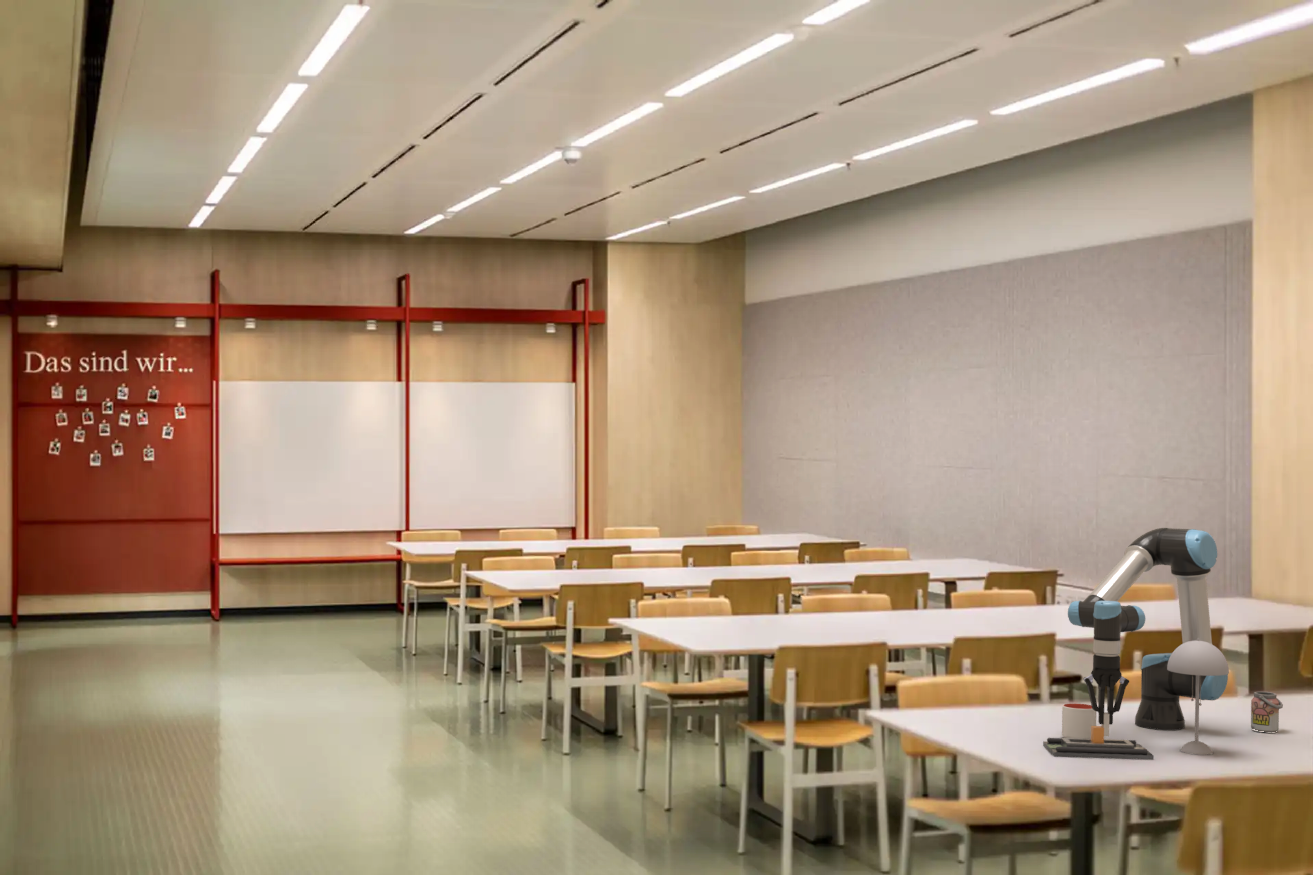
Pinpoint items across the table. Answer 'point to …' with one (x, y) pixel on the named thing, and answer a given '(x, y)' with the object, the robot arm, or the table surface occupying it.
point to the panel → (1098, 755)
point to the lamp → (1197, 678)
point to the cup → (1077, 720)
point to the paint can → (1265, 712)
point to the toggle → (1097, 734)
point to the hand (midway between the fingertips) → (1105, 735)
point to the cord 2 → (1101, 750)
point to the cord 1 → (1058, 740)
